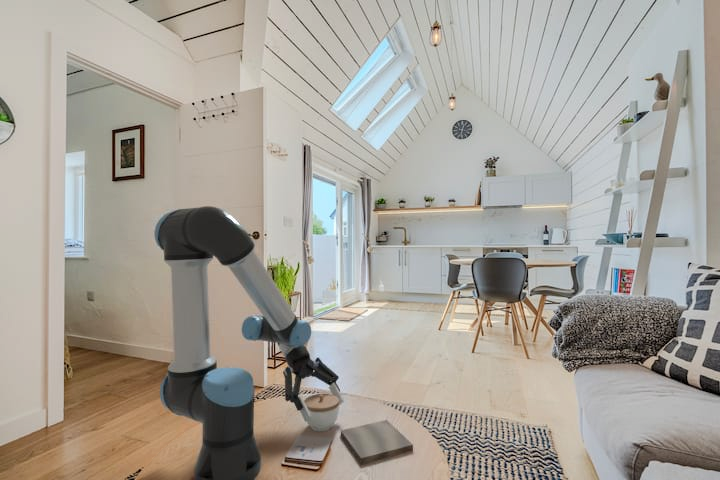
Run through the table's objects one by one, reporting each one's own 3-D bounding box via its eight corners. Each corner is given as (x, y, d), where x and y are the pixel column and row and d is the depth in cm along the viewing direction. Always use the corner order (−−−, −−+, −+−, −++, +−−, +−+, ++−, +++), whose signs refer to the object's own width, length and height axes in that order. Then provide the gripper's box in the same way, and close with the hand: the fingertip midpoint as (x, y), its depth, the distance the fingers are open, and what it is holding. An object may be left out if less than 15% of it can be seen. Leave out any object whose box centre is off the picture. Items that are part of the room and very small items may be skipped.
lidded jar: (338, 435, 100) (337, 402, 101) (301, 435, 100) (300, 402, 101) (340, 417, 111) (340, 388, 111) (306, 418, 111) (306, 388, 111)
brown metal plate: (361, 464, 86) (361, 458, 86) (340, 435, 100) (340, 430, 100) (413, 450, 92) (412, 444, 92) (386, 424, 106) (386, 419, 106)
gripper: (317, 350, 126) (347, 403, 116) (257, 367, 108) (286, 433, 97) (327, 337, 123) (359, 391, 113) (266, 353, 104) (298, 419, 94)
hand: (325, 410), depth 105 cm, fingers open, 13 cm apart
